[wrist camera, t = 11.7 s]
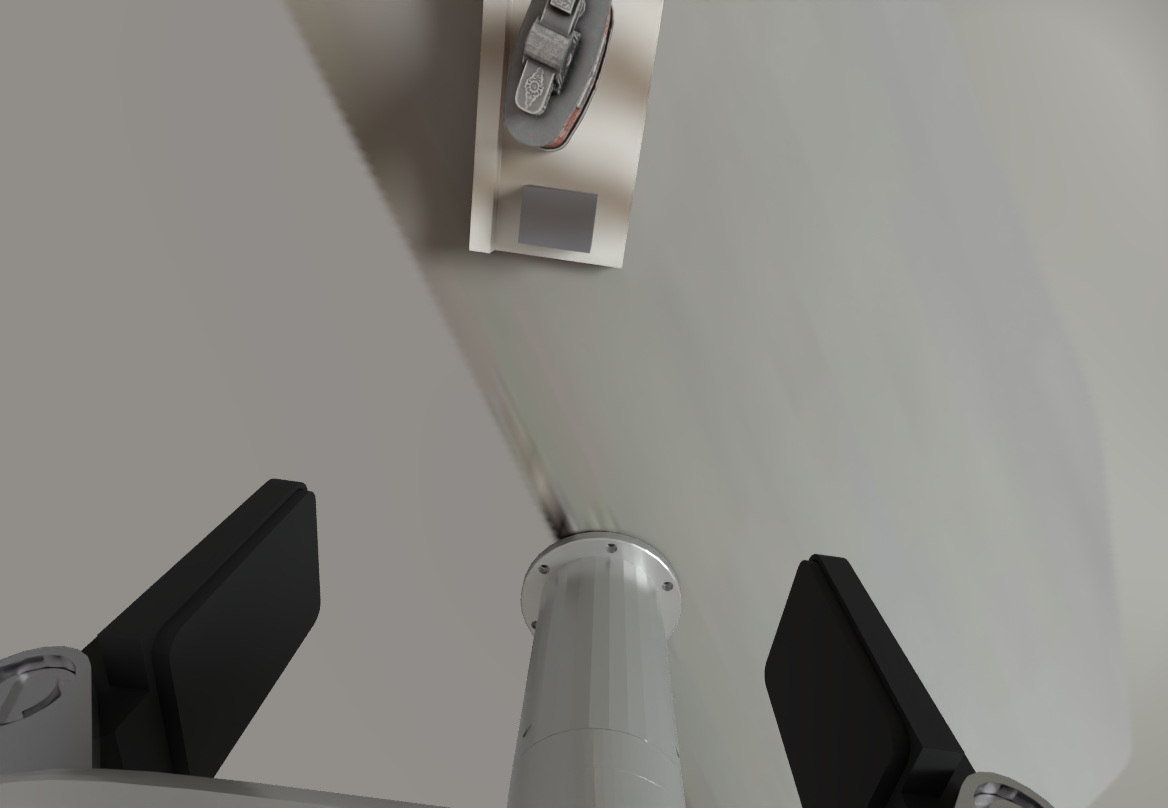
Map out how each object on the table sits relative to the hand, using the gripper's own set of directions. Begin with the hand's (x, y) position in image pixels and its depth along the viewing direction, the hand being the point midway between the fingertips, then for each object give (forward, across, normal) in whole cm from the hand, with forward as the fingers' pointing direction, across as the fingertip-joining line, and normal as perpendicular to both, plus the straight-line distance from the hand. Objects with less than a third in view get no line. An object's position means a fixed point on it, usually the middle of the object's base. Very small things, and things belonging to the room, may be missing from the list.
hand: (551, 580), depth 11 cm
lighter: (+27, +3, -12) cm, 30 cm away
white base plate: (+28, +3, -12) cm, 31 cm away
